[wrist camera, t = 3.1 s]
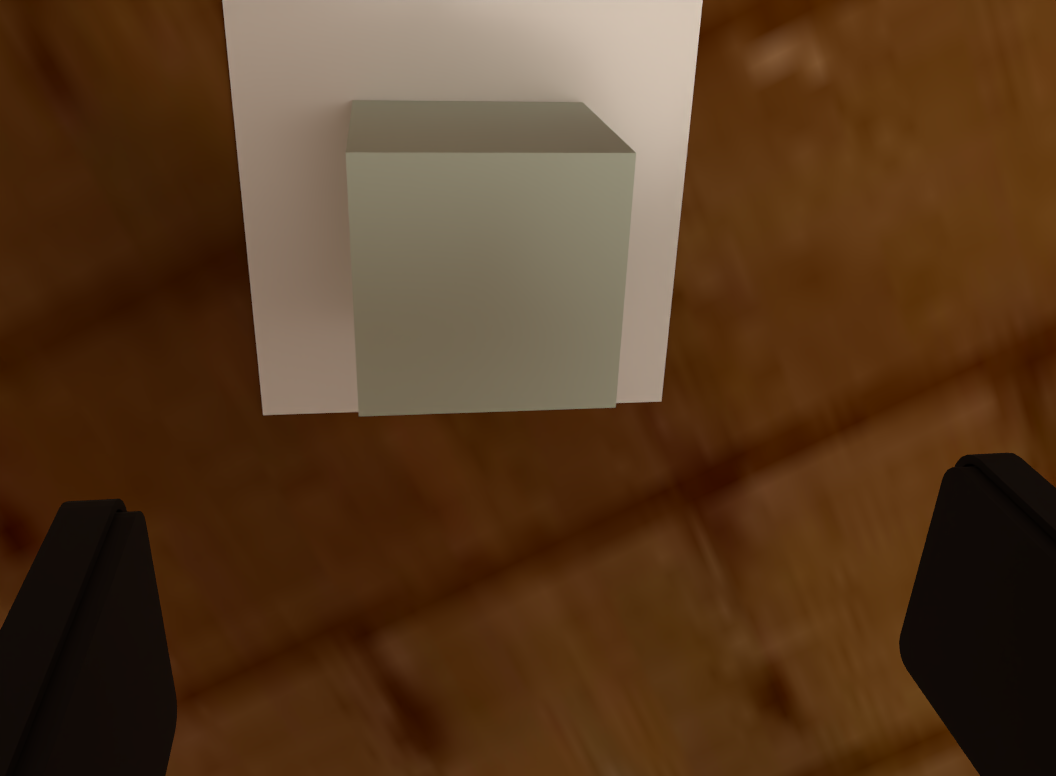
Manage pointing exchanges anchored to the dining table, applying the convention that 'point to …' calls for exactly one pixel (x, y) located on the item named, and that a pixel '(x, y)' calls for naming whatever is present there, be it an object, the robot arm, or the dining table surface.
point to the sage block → (486, 255)
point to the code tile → (438, 75)
